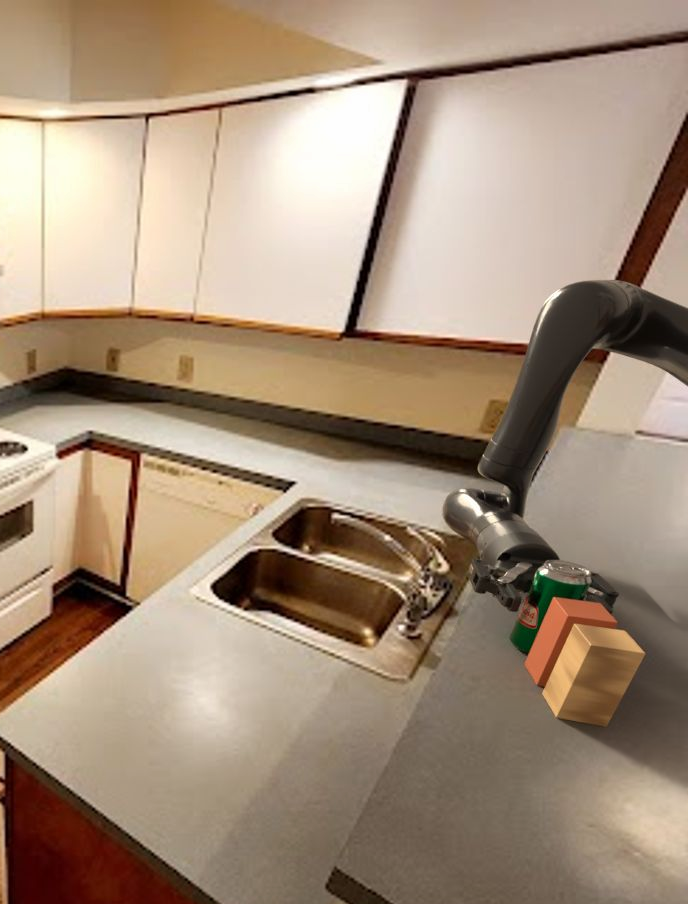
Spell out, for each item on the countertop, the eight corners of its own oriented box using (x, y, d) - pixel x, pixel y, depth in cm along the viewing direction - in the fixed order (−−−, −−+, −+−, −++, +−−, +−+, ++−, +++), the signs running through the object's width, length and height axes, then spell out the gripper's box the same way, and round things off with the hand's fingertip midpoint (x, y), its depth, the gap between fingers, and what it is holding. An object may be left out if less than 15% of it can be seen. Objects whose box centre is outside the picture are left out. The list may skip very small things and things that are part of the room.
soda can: (503, 633, 84) (535, 555, 79) (551, 641, 82) (586, 562, 77) (513, 653, 80) (547, 573, 75) (563, 663, 78) (602, 580, 73)
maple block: (589, 702, 72) (625, 630, 68) (606, 727, 68) (646, 653, 64) (541, 693, 74) (573, 623, 69) (556, 717, 70) (591, 645, 66)
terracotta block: (568, 671, 77) (600, 602, 72) (583, 693, 73) (618, 622, 69) (524, 664, 78) (553, 596, 74) (536, 685, 75) (568, 615, 70)
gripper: (463, 525, 91) (498, 576, 78) (588, 537, 86) (648, 595, 72) (448, 569, 94) (479, 626, 81) (568, 584, 89) (622, 647, 76)
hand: (559, 611), depth 77 cm, fingers open, 8 cm apart
